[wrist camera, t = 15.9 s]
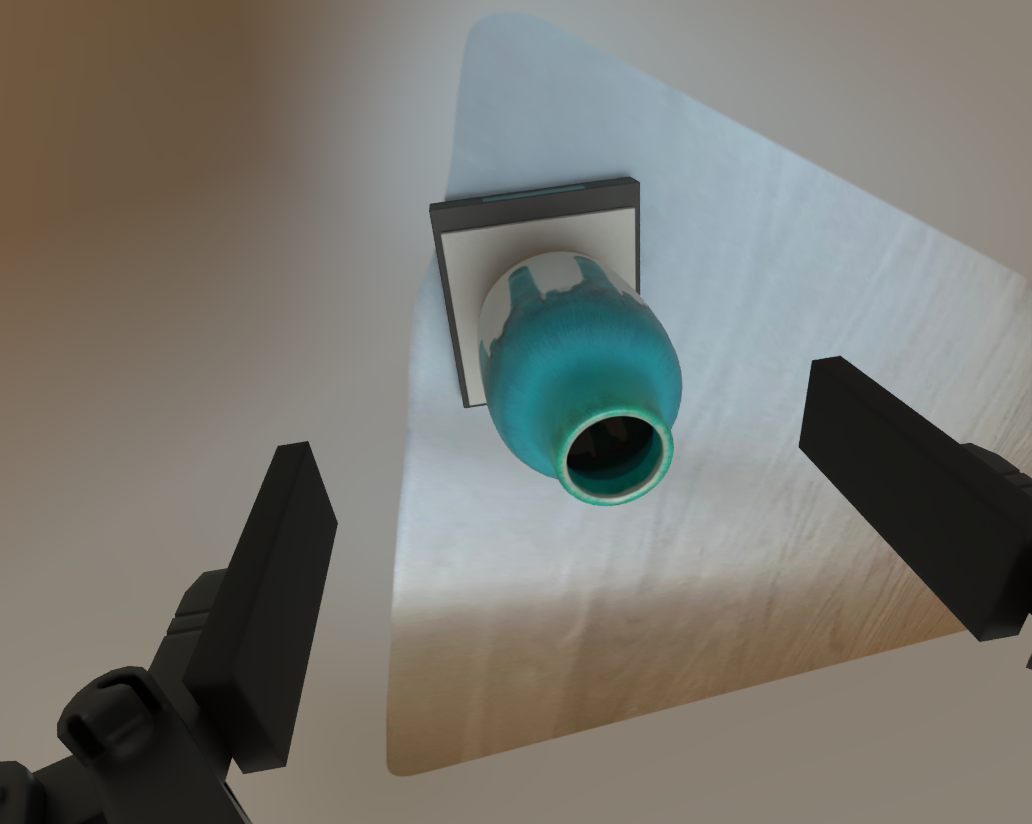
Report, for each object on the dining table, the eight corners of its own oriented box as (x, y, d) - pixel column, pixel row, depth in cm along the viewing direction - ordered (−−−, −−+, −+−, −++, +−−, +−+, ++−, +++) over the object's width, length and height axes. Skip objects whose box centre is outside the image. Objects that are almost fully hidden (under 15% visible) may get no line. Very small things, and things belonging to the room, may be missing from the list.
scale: (429, 203, 41) (428, 212, 38) (630, 176, 41) (642, 183, 39) (462, 395, 48) (464, 412, 46) (632, 370, 49) (642, 385, 47)
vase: (631, 349, 45) (745, 513, 28) (497, 392, 45) (531, 577, 29) (602, 210, 40) (721, 312, 23) (450, 260, 40) (459, 394, 24)
